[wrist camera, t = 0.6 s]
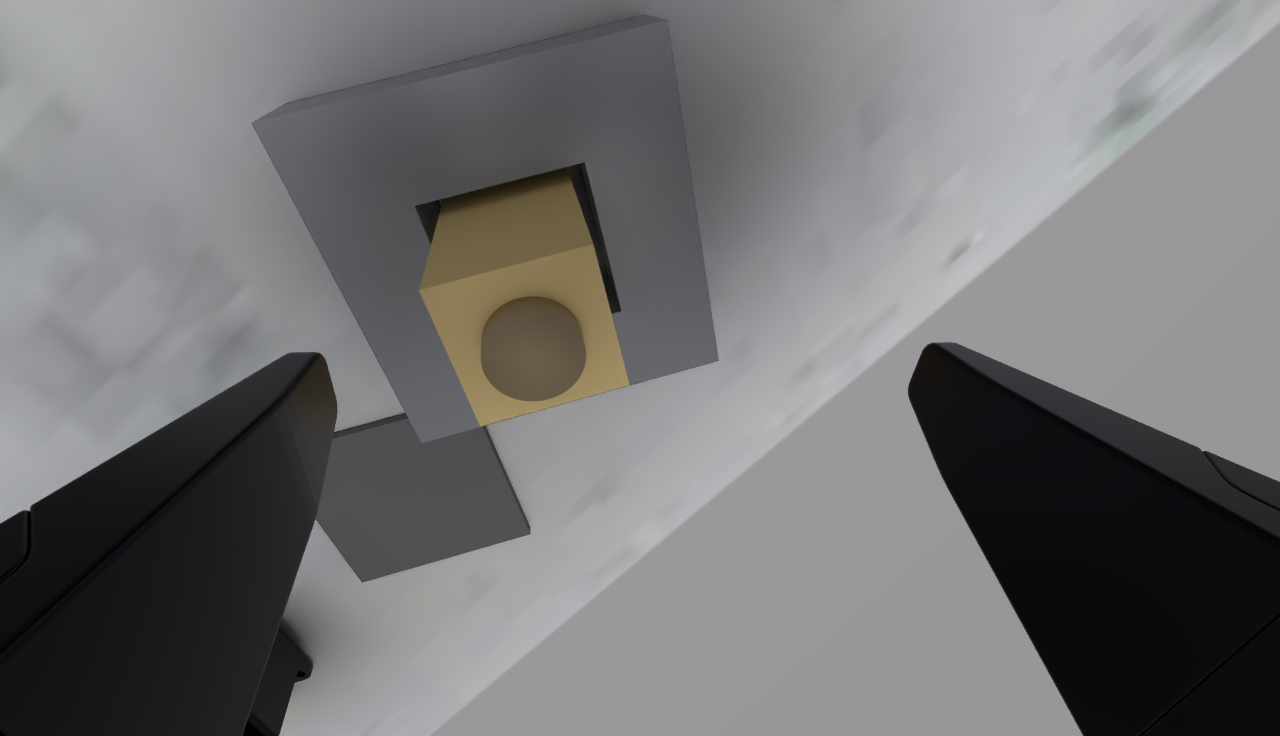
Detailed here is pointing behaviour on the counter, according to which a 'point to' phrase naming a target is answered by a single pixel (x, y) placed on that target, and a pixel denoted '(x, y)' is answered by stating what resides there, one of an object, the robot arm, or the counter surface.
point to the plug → (521, 298)
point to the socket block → (494, 154)
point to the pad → (414, 497)
